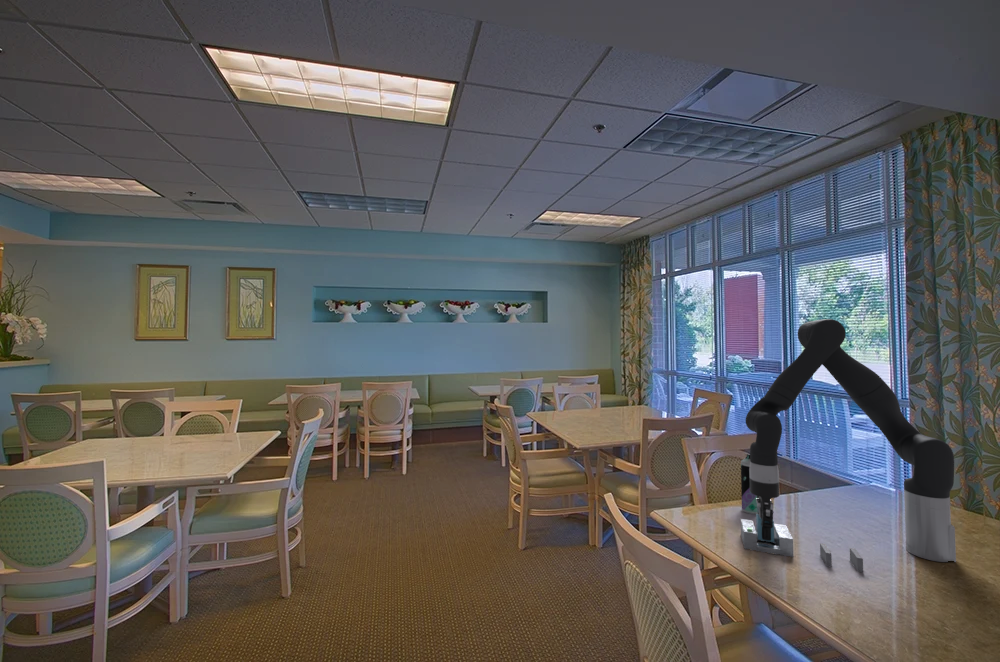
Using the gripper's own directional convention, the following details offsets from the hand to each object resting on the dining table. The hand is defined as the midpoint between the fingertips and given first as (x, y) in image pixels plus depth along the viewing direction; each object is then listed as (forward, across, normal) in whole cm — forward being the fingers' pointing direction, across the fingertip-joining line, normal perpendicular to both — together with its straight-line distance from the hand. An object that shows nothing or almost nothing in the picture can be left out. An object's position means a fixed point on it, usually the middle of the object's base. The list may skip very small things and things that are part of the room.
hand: (765, 536), depth 127 cm
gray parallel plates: (+3, -4, -17) cm, 18 cm away
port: (+3, 0, 0) cm, 3 cm away
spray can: (+3, +28, +1) cm, 28 cm away
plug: (0, 0, 0) cm, 0 cm away
